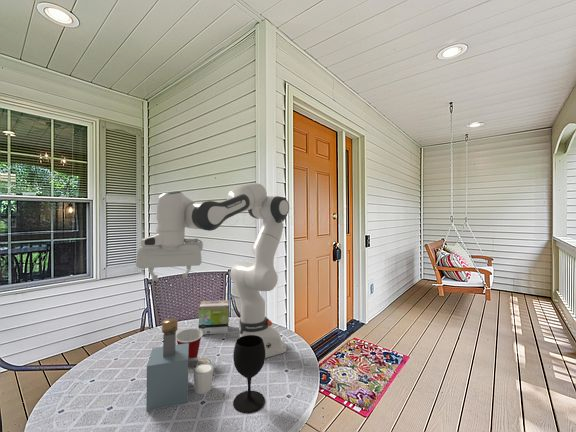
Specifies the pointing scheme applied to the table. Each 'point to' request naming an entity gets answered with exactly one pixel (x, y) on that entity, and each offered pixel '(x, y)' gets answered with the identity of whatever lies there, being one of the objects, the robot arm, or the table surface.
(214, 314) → the tea box
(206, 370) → the shot glass
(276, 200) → the robot arm
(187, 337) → the plastic cup
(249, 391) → the wine glass
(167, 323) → the pump plunger
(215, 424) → the table surface
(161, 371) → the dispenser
